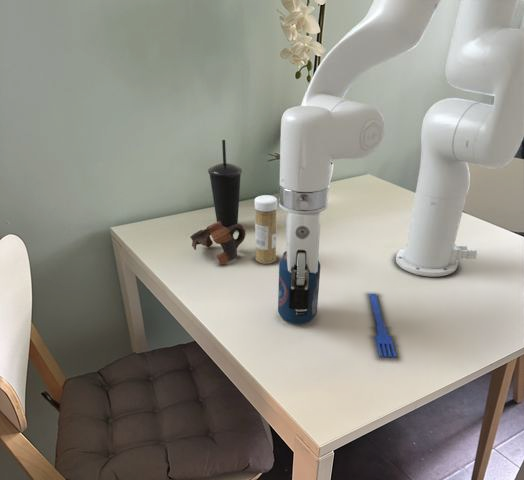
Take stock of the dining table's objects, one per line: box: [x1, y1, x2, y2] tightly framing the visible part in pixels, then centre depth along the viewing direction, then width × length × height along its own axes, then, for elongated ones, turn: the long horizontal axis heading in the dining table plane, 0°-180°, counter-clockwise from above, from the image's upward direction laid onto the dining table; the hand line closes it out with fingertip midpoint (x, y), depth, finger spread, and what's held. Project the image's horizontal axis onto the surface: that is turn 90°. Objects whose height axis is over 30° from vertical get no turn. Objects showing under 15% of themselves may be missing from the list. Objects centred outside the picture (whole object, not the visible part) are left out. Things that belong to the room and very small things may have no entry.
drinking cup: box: [207, 139, 243, 227], centre depth 116 cm, size 8×8×20 cm
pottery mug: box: [189, 221, 247, 266], centre depth 109 cm, size 12×10×8 cm
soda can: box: [277, 250, 322, 326], centre depth 87 cm, size 7×7×12 cm
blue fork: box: [368, 293, 397, 359], centre depth 88 cm, size 19×3×1 cm, turn 177°
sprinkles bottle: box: [254, 194, 278, 265], centre depth 104 cm, size 5×5×14 cm
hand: (298, 295), depth 88 cm, fingers closed on soda can, 7 cm apart
